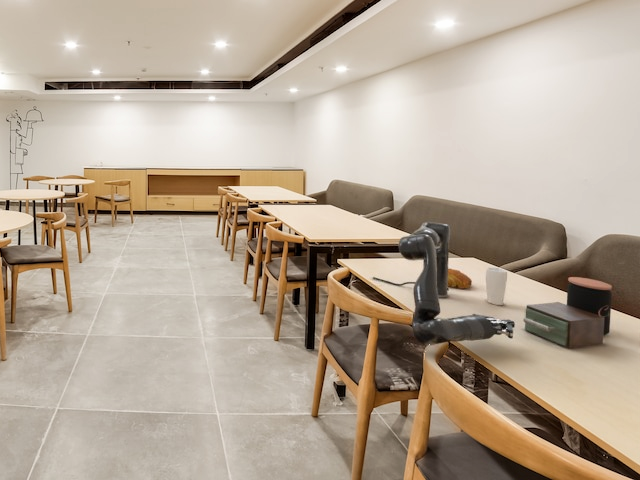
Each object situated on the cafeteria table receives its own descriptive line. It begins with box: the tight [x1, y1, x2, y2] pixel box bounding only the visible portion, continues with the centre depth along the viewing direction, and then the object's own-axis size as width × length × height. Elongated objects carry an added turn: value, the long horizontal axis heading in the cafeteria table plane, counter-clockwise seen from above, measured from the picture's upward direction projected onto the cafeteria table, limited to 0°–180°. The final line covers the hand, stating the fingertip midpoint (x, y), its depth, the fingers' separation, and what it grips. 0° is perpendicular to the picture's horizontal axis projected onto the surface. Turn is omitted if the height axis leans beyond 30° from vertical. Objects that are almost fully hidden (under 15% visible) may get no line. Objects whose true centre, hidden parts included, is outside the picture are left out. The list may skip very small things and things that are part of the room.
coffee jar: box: [566, 276, 613, 336], centre depth 136 cm, size 11×11×18 cm
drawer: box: [523, 308, 568, 347], centre depth 129 cm, size 19×11×8 cm, turn 101°
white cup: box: [485, 266, 508, 306], centre depth 158 cm, size 7×7×15 cm
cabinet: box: [524, 301, 605, 350], centre depth 130 cm, size 16×13×10 cm
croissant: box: [447, 267, 473, 290], centre depth 180 cm, size 14×16×8 cm
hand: (511, 323), depth 125 cm, fingers closed
